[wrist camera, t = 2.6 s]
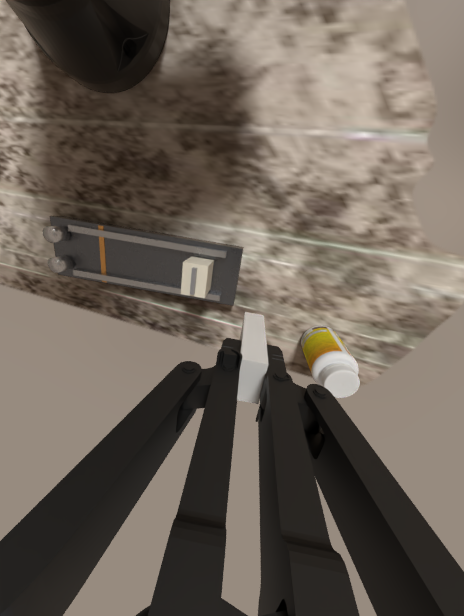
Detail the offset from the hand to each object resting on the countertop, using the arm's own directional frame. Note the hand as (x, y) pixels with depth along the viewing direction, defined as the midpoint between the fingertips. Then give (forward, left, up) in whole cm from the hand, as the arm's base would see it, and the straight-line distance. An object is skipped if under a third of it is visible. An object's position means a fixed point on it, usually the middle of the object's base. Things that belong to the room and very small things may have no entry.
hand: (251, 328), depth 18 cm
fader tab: (0, -7, -13) cm, 15 cm away
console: (0, -15, -16) cm, 22 cm away
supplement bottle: (+8, +12, -16) cm, 21 cm away
